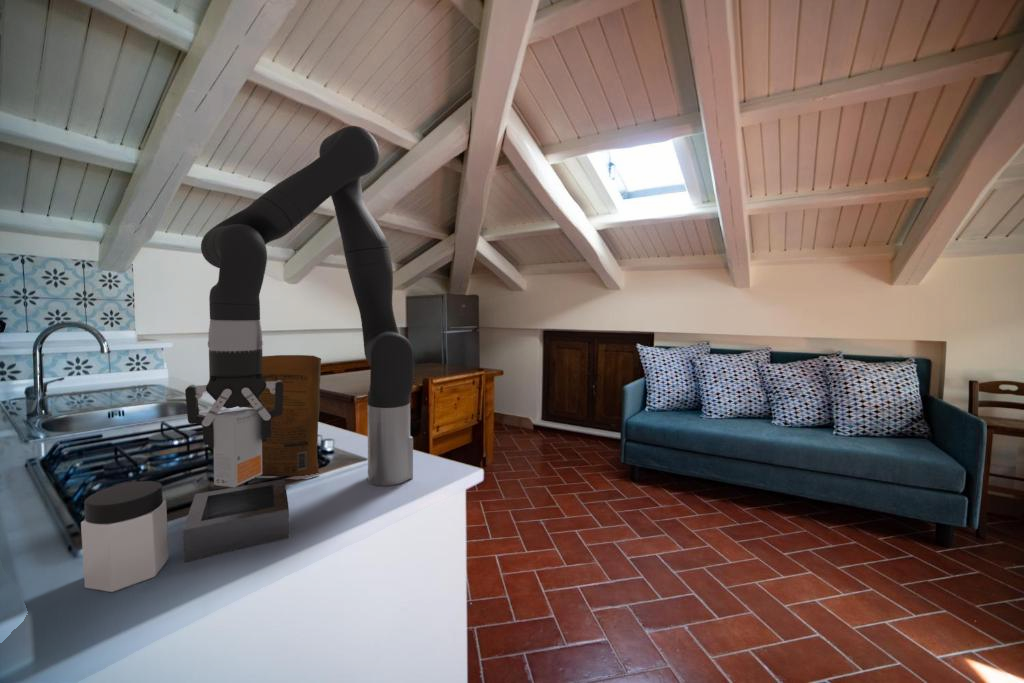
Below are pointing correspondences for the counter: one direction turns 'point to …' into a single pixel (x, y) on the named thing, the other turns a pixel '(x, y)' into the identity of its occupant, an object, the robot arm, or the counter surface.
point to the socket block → (236, 519)
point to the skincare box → (237, 446)
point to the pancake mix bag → (292, 416)
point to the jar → (124, 535)
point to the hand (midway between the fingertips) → (238, 443)
